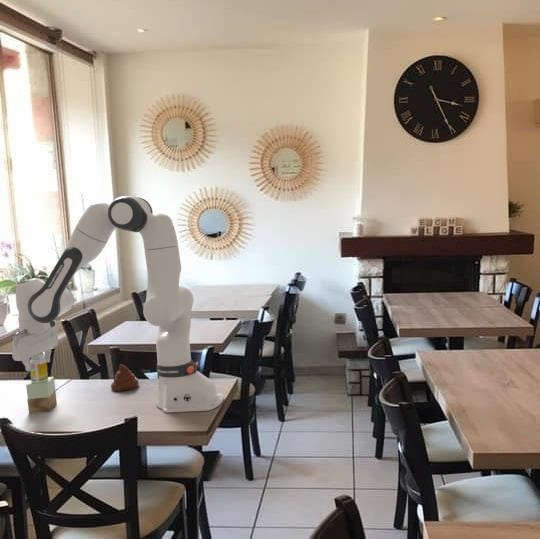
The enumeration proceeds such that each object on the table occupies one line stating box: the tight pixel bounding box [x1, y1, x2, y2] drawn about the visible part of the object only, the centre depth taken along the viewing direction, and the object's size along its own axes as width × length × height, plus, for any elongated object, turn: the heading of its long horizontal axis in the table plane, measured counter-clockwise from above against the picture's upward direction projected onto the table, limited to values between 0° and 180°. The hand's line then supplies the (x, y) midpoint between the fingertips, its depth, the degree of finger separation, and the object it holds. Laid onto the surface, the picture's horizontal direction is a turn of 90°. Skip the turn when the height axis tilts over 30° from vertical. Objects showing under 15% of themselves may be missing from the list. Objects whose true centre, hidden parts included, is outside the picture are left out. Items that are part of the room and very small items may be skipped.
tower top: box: [25, 376, 56, 399], centre depth 197 cm, size 7×7×5 cm
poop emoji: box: [110, 363, 140, 392], centre depth 215 cm, size 10×8×9 cm
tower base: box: [27, 390, 58, 414], centre depth 198 cm, size 7×7×5 cm
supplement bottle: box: [29, 352, 49, 383], centre depth 196 cm, size 5×5×10 cm
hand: (38, 366), depth 196 cm, fingers open, 8 cm apart
